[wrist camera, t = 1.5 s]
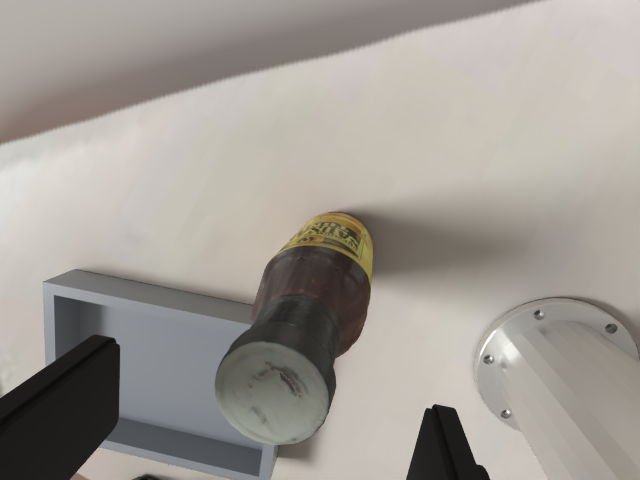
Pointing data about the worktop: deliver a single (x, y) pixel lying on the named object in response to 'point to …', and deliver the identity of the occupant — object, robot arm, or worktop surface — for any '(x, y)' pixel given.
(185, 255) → the worktop surface
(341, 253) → the sauce bottle
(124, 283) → the tray
